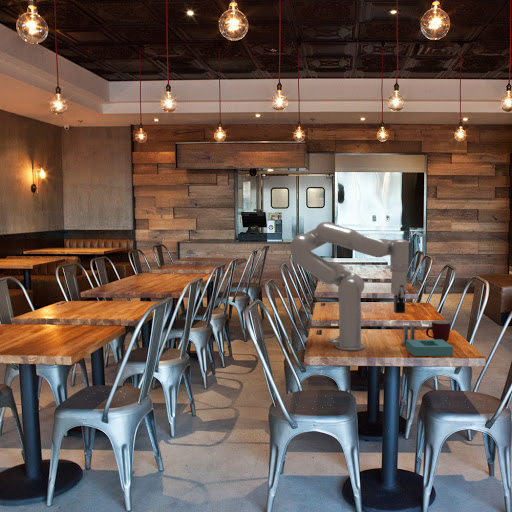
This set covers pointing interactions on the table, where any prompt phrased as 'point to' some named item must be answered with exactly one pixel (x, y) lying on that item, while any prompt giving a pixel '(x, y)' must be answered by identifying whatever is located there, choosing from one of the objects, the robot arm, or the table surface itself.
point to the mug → (440, 330)
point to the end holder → (429, 347)
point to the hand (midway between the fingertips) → (399, 310)
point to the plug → (395, 304)
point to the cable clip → (412, 331)
